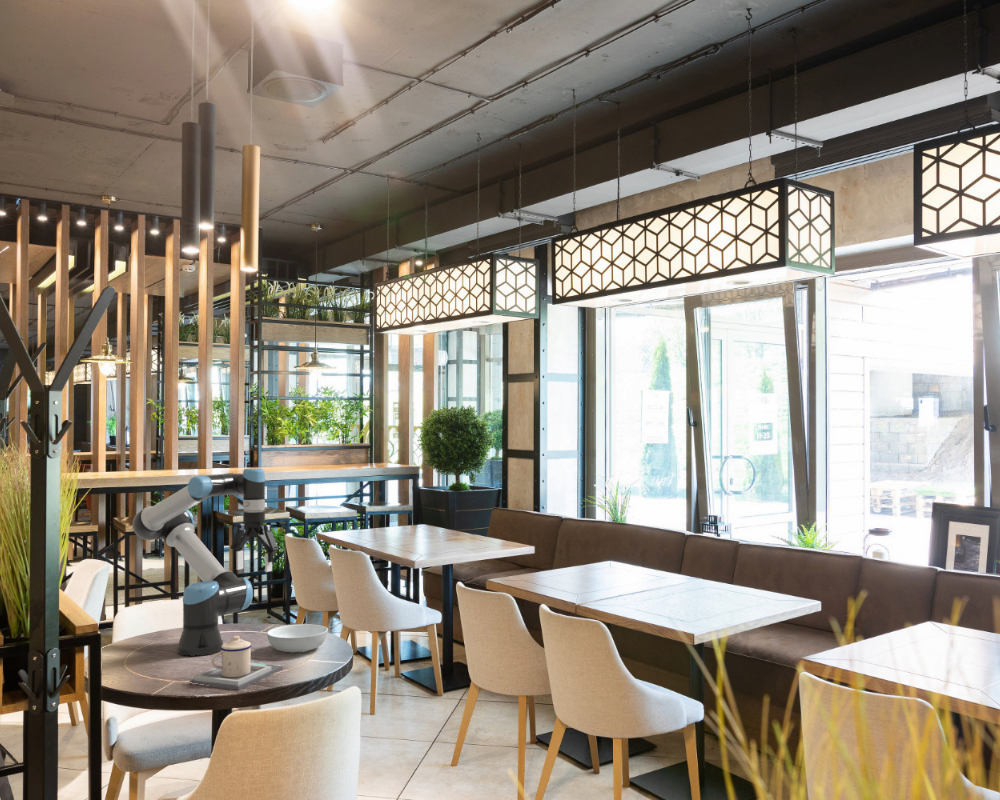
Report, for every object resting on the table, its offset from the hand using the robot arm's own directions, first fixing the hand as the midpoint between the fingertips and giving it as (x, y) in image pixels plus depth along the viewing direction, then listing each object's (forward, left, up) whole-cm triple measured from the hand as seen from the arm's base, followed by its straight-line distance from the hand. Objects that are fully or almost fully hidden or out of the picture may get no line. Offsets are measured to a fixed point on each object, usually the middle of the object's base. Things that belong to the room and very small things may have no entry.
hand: (254, 570), depth 292 cm
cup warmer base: (+18, -32, -27) cm, 46 cm away
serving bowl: (+18, +1, -27) cm, 33 cm away
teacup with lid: (+17, -34, -26) cm, 46 cm away
